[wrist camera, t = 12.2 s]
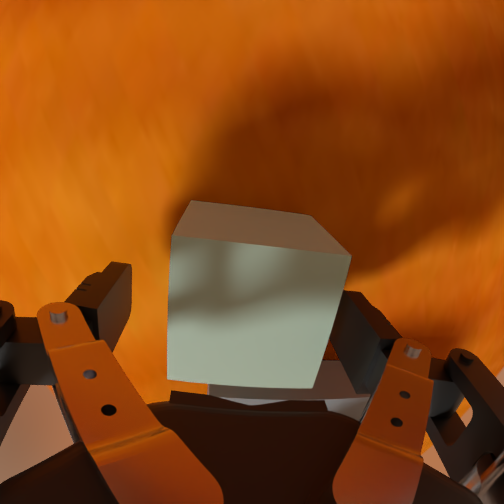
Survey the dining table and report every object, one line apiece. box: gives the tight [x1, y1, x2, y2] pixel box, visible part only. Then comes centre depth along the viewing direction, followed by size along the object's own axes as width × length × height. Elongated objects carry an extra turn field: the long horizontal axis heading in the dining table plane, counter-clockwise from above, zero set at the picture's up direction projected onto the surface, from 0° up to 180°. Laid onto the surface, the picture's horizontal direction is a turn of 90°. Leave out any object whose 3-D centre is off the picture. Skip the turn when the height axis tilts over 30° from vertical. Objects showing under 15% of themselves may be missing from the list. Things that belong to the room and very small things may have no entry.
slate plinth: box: [207, 360, 371, 421], centre depth 17 cm, size 12×12×3 cm
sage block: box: [167, 200, 352, 388], centre depth 12 cm, size 5×5×5 cm
